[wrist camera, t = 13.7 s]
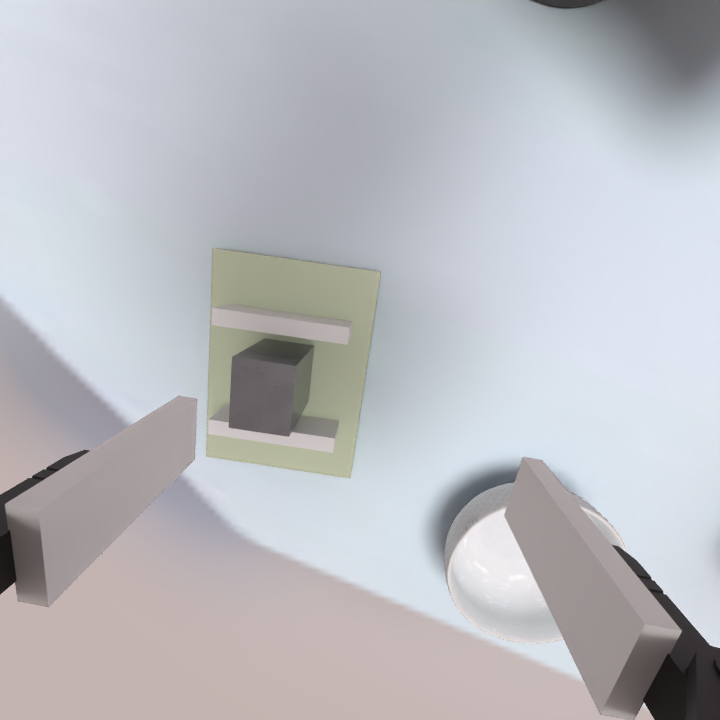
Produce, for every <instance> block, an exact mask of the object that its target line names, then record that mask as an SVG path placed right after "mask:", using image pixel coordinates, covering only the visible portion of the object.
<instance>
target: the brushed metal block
mask: <svg viewBox="0 0 720 720" xmlns="http://www.w3.org/2000/svg"><path fill="white" fill-rule="evenodd" d="M313 355H314V345H308V344H301V343H294V342H287V341H280V340H273V339H267V338H264V339H263V340H261V341H259V342H257V343H256V344H254V345H252V346H250V347H248V348H247V349H245V350H243V351H241V352H240V353H238V354H236V355H234V356H232V366H231V387H230V408H229V428H233V429H240V430H246V431H253V432H260V433H267V434H273V435H280V436H287V437H289V436H290V435H291V433H292V431H293V429H294V427H295V425H296V424H297V422H298V420H299V418H300V416H301V414H302V413H303V411H304V409H305V407H306V405H307V403H308V401H309V392H310V383H311V373H312V364H313Z"/></svg>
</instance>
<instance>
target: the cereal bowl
mask: <svg viewBox="0 0 720 720" xmlns="http://www.w3.org/2000/svg"><path fill="white" fill-rule="evenodd" d="M514 483H515V482H513V483H506V484H503V485H499V486H496V487H494V488H490V489H488V490H486V491H483V492H482V493H480V494H478V495H477V496H476V497H475V498H473V499H472V500H471V501H470V502H469V503H468V504H466V505H465V506H464V508H463V509H462V510H461V511H460V512H459V514H458V515H457V516H456V518H455V519H454V521H453V523H452V525H451V527H450V530H449V532H448V536H447V539H446V545H445V553H444V555H445V558H444V562H445V572H446V581H447V585H448V589H449V592H450V595H451V597H452V599H453V601H454V603H455V605H456V606H457V608H458V610H459V611H460V612H461V613H462V615H463V616H464V617H465V618H466V619H467V620H468V621H469V622H471V623H472V624H473V625H474V626H476V627H477V628H479V629H480V630H482V631H484V632H486V633H488V634H490V635H492V636H495V637H497V638H500V639H503V640H507V641H512V642H518V643H528V644H539V643H549V642H555V641H559V640H563V637H562V635H561V632H560V630H559V628H558V626H557V624H556V622H555V620H554V618H553V616H552V614H551V612H550V610H549V608H548V606H547V603H546V601H545V599H544V597H543V595H542V593H541V591H540V589H539V587H538V585H537V583H536V581H535V579H534V577H533V574H532V572H531V570H530V568H529V566H528V564H527V562H526V560H525V558H524V556H523V554H522V552H521V550H520V548H519V545H518V543H517V541H516V539H515V537H514V535H513V533H512V531H511V529H510V527H509V525H508V523H507V521H506V519H505V516H504V514H505V511H506V508H507V504H508V501H509V498H510V495H511V492H512V489H513V486H514ZM568 492H569V491H568ZM569 494H570V495H571V496H572V497H573V498H574V500H575V501H576V502H577V503H578V505H579V506H580V507H581V508H582V509H583V511H584V512H585V513H586V514H587V516H588V517H589V518H590V519H591V520H592V522H593V523H594V524H595V525H596V527H597V528H598V529H599V530H600V531H601V533H602V534H603V535H604V536H605V538H606V539H607V540H608V541H609V542H610V544H611V545H615V546H619V547H620V548H622V549H623V550H624V551H625V552H626V549H625V546H624V543H623V542H622V540H621V538H620V536H619V534H618V533H617V532H616V530H615V529H614V527H613V526H612V525H611V524H610V523H609V522H608V521H607V519H606V518H604V517H603V516H602V515H601V514H600V513H599V512H598V511H597V510H596V509H595V508H594V507H592V506H591V505H590V504H589V503H587V502H586V501H584V500H583V499H582V498H580V497H578V496H576V495H575V494H573V493H571V492H569ZM626 553H627V552H626Z"/></svg>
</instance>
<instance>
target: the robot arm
mask: <svg viewBox="0 0 720 720" xmlns="http://www.w3.org/2000/svg"><path fill="white" fill-rule="evenodd" d="M536 1H539V2H541V3H544V4H547V5H551V6H557V7H580V6H585V5H590V4H593V3H596V2H599V1H602V0H536ZM196 419H197V399H194V398H188V397H183V396H178V397H176V398H174V399H173V400H171V401H170V402H168V403H166V404H165V405H163V406H162V407H160V408H158V409H157V410H155V411H153V412H152V413H150V414H149V415H147V416H145V417H144V418H142V419H141V420H139V421H137V422H136V423H134V424H133V425H131V426H129V427H128V428H126V429H125V430H123V431H121V432H120V433H118V434H117V435H115V436H113V437H112V438H110V439H108V440H107V441H105V442H104V443H102V444H100V445H99V446H97V447H96V448H94V449H92V450H91V451H88V450H83V451H80V452H77V453H75V454H72V455H69V456H66V457H64V458H62V459H60V460H59V461H57V462H55V463H54V464H52V465H50V466H48V467H47V469H46V470H42V471H40V472H38V473H37V474H35V475H33V477H32V478H28V479H27V480H25V481H23V482H22V483H20V484H18V485H16V486H15V487H13V488H11V489H10V490H8V491H6V492H4V493H3V494H1V495H0V594H1V593H3V592H4V591H5V590H6V589H7V588H8V587H9V586H11V585H12V584H13V583H14V582H15V585H16V591H17V600H18V601H19V602H24V603H29V604H35V605H40V606H45V607H49V606H50V605H51V604H52V603H53V602H54V601H55V600H56V599H57V598H58V597H59V596H60V595H61V594H62V593H63V592H64V591H65V590H66V589H67V588H68V587H69V586H70V585H71V584H72V583H73V582H74V581H75V580H76V579H77V578H78V577H79V576H80V575H81V574H82V573H83V572H84V571H85V570H86V569H87V568H88V567H89V566H90V565H91V564H92V563H93V562H94V561H95V560H96V559H97V558H98V557H99V556H100V554H102V553H103V551H105V550H106V549H107V548H108V547H109V545H111V544H112V543H113V542H114V541H115V540H116V539H117V538H118V536H119V535H121V533H123V531H124V530H125V529H126V528H127V527H128V526H129V525H130V524H131V523H132V522H133V521H134V520H135V519H136V518H137V517H138V516H139V515H140V514H141V513H142V512H143V511H144V510H145V509H146V508H147V507H148V506H149V505H150V504H151V503H152V502H153V501H154V500H155V499H156V498H157V497H158V496H159V495H160V494H161V493H162V492H163V491H164V490H165V489H166V488H167V487H168V486H169V485H170V484H171V483H172V482H173V481H174V480H175V479H176V478H177V477H178V476H179V475H180V474H181V473H182V472H183V471H184V470H185V469H186V468H187V467H188V466H189V465H190V464H191V463H192V462H193V461H194V460H195V446H196ZM504 516H505V519H506V521H507V523H508V525H509V527H510V529H511V531H512V533H513V535H514V537H515V539H516V541H517V543H518V545H519V548H520V550H521V552H522V554H523V556H524V558H525V560H526V562H527V564H528V566H529V568H530V570H531V572H532V574H533V577H534V579H535V581H536V583H537V585H538V587H539V589H540V591H541V593H542V595H543V597H544V599H545V601H546V603H547V606H548V608H549V610H550V612H551V614H552V616H553V618H554V620H555V622H556V624H557V626H558V628H559V630H560V632H561V635H562V637H563V639H564V641H565V643H566V645H567V647H568V649H569V651H570V653H571V655H572V657H573V659H574V661H575V664H576V666H577V668H578V670H579V672H580V674H581V676H582V678H583V680H584V682H585V684H586V686H587V688H588V690H589V693H590V695H591V697H592V699H593V701H594V703H595V705H596V707H597V709H598V711H599V713H600V715H605V716H611V717H616V718H622V719H627V720H634V719H635V717H636V716H637V714H638V712H639V710H640V708H641V706H642V705H643V703H645V704H646V706H647V708H648V709H649V711H650V713H651V714H652V716H653V718H654V719H655V720H720V648H717V647H713V646H710V645H709V644H708V643H707V642H706V640H705V639H704V638H703V637H702V636H701V635H700V633H699V632H698V631H697V630H696V629H695V628H694V626H693V625H692V624H691V623H690V622H689V621H688V619H687V618H686V617H685V616H684V615H683V614H682V613H681V611H680V610H679V609H678V608H677V607H676V606H675V604H674V603H673V602H672V601H671V600H670V599H669V597H668V596H667V595H665V594H663V590H662V589H661V588H660V587H659V586H658V585H657V584H656V582H655V581H653V580H651V577H650V575H649V574H648V573H647V572H646V571H645V570H644V568H643V567H642V566H641V565H640V564H639V563H638V561H636V560H635V559H634V558H633V557H631V556H630V555H629V554H628V553H626V552H625V551H624V550H623V549H622V548H620V547H619V546H615V545H611V544H610V542H609V541H608V540H607V539H606V538H605V536H604V535H603V534H602V533H601V531H600V530H599V529H598V528H597V527H596V525H595V524H594V523H593V522H592V520H591V519H590V518H589V517H588V516H587V514H586V513H585V512H584V511H583V509H582V508H581V507H580V506H579V505H578V503H577V502H576V501H575V500H574V498H573V497H572V496H571V495H570V494H569V492H568V491H567V490H566V489H565V488H564V486H563V485H562V484H561V483H560V481H559V480H558V479H557V478H556V477H555V475H554V474H553V473H552V472H551V470H550V469H549V468H548V467H547V466H546V464H545V463H544V462H543V461H542V460H538V459H532V458H526V457H523V458H522V461H521V464H520V467H519V470H518V473H517V476H516V480H515V483H514V486H513V489H512V492H511V495H510V498H509V501H508V504H507V508H506V511H505V514H504Z"/></svg>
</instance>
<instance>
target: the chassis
mask: <svg viewBox="0 0 720 720" xmlns="http://www.w3.org/2000/svg"><path fill="white" fill-rule="evenodd" d="M380 275H381V272H379V271H372V270H365V269H358V268H351V267H344V266H337V265H330V264H323V263H316V262H308V261H301V260H294V259H287V258H280V257H273V256H266V255H259V254H252V253H245V252H238V251H231V250H224V249H217V248H213V252H212V283H211V315H210V346H209V378H208V409H207V441H206V456H207V457H213V458H220V459H226V460H233V461H240V462H246V463H253V464H259V465H266V466H272V467H279V468H286V469H292V470H299V471H305V472H312V473H318V474H325V475H332V476H338V477H345V478H350V477H351V471H352V464H353V457H354V450H355V444H356V437H357V430H358V423H359V417H360V410H361V403H362V396H363V390H364V383H365V376H366V369H367V363H368V356H369V349H370V342H371V336H372V329H373V322H374V315H375V309H376V302H377V295H378V288H379V282H380ZM264 338H267V339H273V340H280V341H287V342H294V343H301V344H308V345H314V355H313V364H312V373H311V383H310V392H309V401H308V403H307V405H306V407H305V409H304V411H303V413H302V414H301V416H300V418H299V420H298V422H297V424H296V425H295V427H294V429H293V431H292V433H291V435H290V436H289V437H287V436H280V435H273V434H267V433H260V432H253V431H246V430H240V429H233V428H229V408H230V387H231V366H232V356H234V355H236V354H238V353H240V352H241V351H243V350H245V349H247V348H248V347H250V346H252V345H254V344H256V343H257V342H259V341H261V340H263V339H264Z"/></svg>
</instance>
